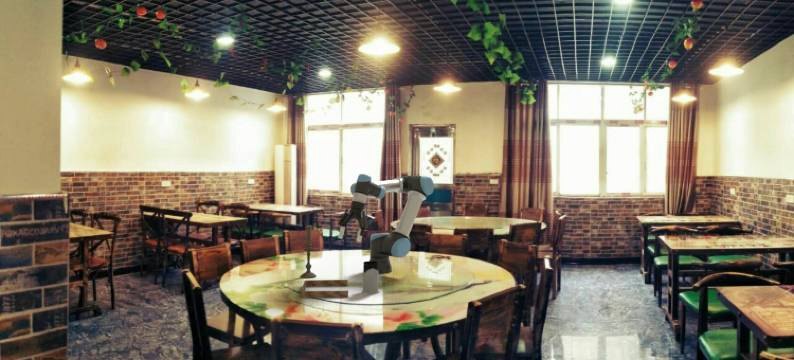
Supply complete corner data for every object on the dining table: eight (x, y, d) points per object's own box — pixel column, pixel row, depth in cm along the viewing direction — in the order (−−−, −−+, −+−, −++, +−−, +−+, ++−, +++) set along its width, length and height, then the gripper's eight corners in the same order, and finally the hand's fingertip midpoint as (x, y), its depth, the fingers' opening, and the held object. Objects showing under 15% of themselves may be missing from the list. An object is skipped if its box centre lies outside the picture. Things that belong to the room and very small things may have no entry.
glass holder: (363, 294, 241) (364, 264, 240) (358, 287, 254) (358, 259, 254) (381, 293, 243) (381, 263, 243) (374, 287, 257) (375, 258, 256)
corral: (347, 285, 259) (347, 279, 259) (348, 297, 235) (348, 290, 235) (304, 286, 257) (304, 280, 257) (300, 297, 233) (300, 291, 233)
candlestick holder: (318, 275, 284) (318, 223, 283) (313, 278, 275) (314, 225, 274) (302, 274, 285) (303, 223, 284) (298, 278, 275) (298, 225, 275)
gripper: (337, 198, 271) (328, 235, 266) (371, 202, 255) (362, 241, 251) (346, 202, 276) (337, 238, 272) (380, 205, 261) (371, 244, 257)
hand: (349, 240), depth 262 cm, fingers open, 13 cm apart
